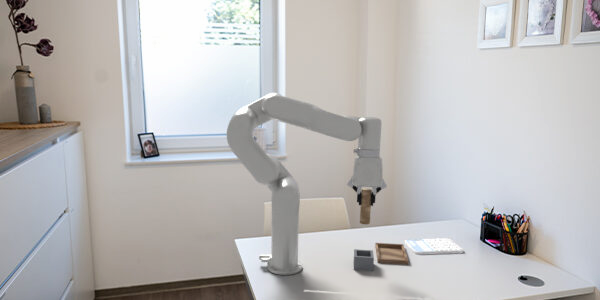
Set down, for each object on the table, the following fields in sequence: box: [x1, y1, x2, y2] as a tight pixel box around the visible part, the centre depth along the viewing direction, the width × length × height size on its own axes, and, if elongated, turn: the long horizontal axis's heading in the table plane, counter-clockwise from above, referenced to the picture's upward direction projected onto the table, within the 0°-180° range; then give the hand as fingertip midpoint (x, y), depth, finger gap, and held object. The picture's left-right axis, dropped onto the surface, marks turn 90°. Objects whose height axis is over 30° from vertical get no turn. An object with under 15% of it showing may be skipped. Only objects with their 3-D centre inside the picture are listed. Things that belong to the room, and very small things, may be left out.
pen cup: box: [353, 248, 375, 272], centre depth 166 cm, size 7×7×6 cm
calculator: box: [404, 237, 464, 255], centre depth 188 cm, size 13×20×2 cm, turn 97°
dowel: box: [359, 188, 373, 226], centre depth 163 cm, size 4×4×12 cm
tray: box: [374, 242, 409, 266], centre depth 177 cm, size 16×11×2 cm
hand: (365, 204), depth 163 cm, fingers closed on dowel, 3 cm apart
